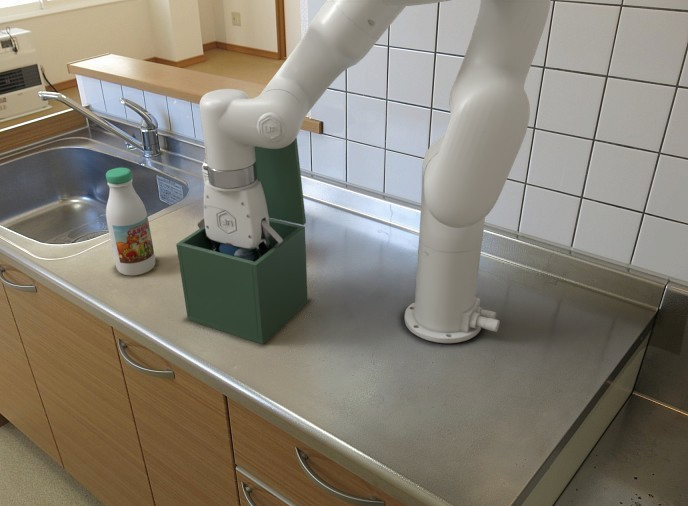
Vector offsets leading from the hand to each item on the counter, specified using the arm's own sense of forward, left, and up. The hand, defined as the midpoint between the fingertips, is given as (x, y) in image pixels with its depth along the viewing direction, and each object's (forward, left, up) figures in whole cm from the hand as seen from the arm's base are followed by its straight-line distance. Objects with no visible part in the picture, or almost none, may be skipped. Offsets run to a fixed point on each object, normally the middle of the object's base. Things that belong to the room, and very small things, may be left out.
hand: (243, 273), depth 112 cm
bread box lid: (0, -7, +15) cm, 16 cm away
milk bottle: (+29, -4, -8) cm, 31 cm away
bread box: (0, -1, -8) cm, 8 cm away
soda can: (0, 0, -5) cm, 5 cm away
